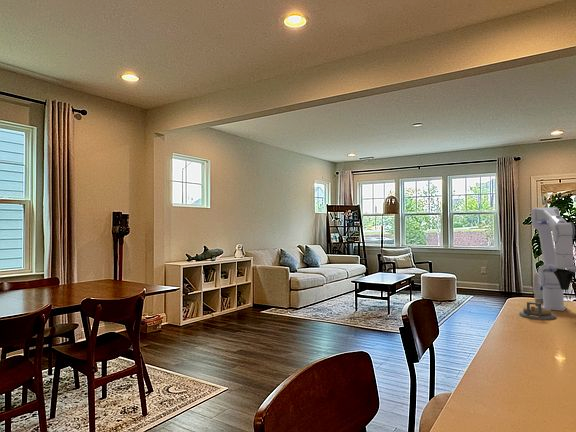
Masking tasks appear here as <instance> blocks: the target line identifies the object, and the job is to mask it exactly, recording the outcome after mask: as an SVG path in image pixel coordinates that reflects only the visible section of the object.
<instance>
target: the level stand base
mask: <svg viewBox="0 0 576 432" xmlns="http://www.w3.org/2000/svg"><path fill="white" fill-rule="evenodd" d="M531 305H532V306H533V305H534V306H535V305H538V308H539V315H532V314H530V307H531ZM526 307H527V313H524V312H523V310H520V311H519V314H518V315H519V316H520V317H522V318H525V319H526V318H527V319H532V320H538V321H539V320H541V321H545V320H546V321H547V320H548V321H549V320H550V321H551V320H555V319H556V317H557V315H556V314H555V313H552V312H551V315H542V312H541V307H542V302H541V303H535V302H532V301H526Z"/></svg>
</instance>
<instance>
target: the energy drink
mask: <svg viewBox="0 0 576 432" xmlns="http://www.w3.org/2000/svg"><path fill="white" fill-rule="evenodd" d="M533 292H534V293H533V294H534V295H533V297H534V300H533V301H535V298H541V303H543V287H542V286H541V285H540V284H539V282H538V273H537V274H534V275H533Z"/></svg>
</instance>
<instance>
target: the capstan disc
mask: <svg viewBox="0 0 576 432" xmlns="http://www.w3.org/2000/svg"><path fill="white" fill-rule="evenodd" d="M534 303H541V304H542V302H541V298H535V300H534ZM522 309H523V310H522V311H523V312H524V313H527V306H524V307H523V308H522ZM541 312H542V315H551V313H552V310H551V309H548V308H543V307H542V306H541ZM530 314H532V315H539V308H538V305H534V306H533V305H530Z"/></svg>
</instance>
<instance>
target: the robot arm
mask: <svg viewBox="0 0 576 432" xmlns="http://www.w3.org/2000/svg"><path fill="white" fill-rule="evenodd" d="M530 217H531V224H532V227H533V229H535V230H537V232H538V236H539V242H540V247H541V248H540V249H541V254H542V259H543V260H542V261H543V265H541V266H540V267H538V269H537V274H538V282H539V284H540V285H541V286H542V287H543V302H542V304H543V305H541V307H543V308H548V309H551V311H558V312H559V311H562V312H564V311H565V310H566V308H567V306H565V305H564V303H565V301H564V297H565V296H564V291H566V290H567V291H568V290H570V285H571V284H572V283H571V282H572V280H573V278H574V277H575V275H576V265H574V247H573V244H574V242H573V241H574V240H573V239H574V238H575V234H576V228H575V225H574V222H567V221H566V220H565V218H564V217H563V216H561V214H560V209H559V208H558V207H557V206H553V207H533V208H532V209H531V213H530Z"/></svg>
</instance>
